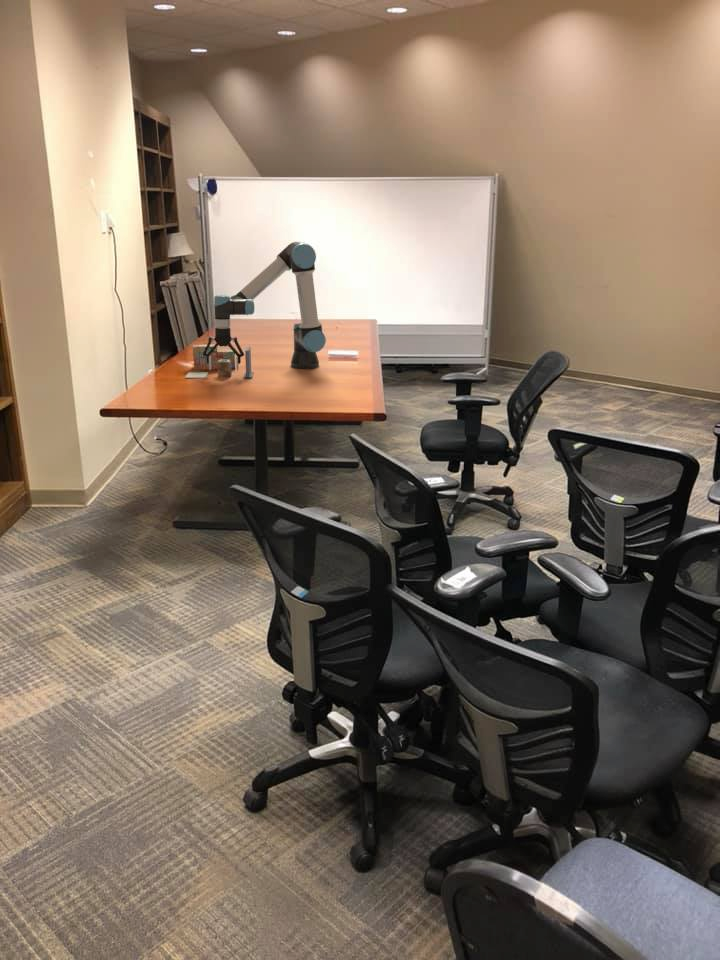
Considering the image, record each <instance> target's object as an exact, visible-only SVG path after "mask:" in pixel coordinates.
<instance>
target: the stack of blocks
mask: <svg viewBox="0 0 720 960" xmlns="http://www.w3.org/2000/svg"><path fill="white" fill-rule="evenodd" d="M207 344H208V343H207ZM207 344H192V355H193V357H192V358H193V368H194V369H209V363H207V357H206V356H204V355H203V352H204V350H205V348H206V346H207ZM215 344H216V343H211V344H210V346H209V348H208V350H207V352H206V353H207V354H208V353H209V351H210V350H211V349H212V348H213V347H214V345H215ZM209 356H211V369H212V370H218V361H219V360H231V370H233V369H234V370H235V369H236V354H235V353H234V352H233V351H232V350H231V349H218V346H217V347H216V348H215V350H214V351H213V352H212V353H211V354H210V355H209Z"/></svg>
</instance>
